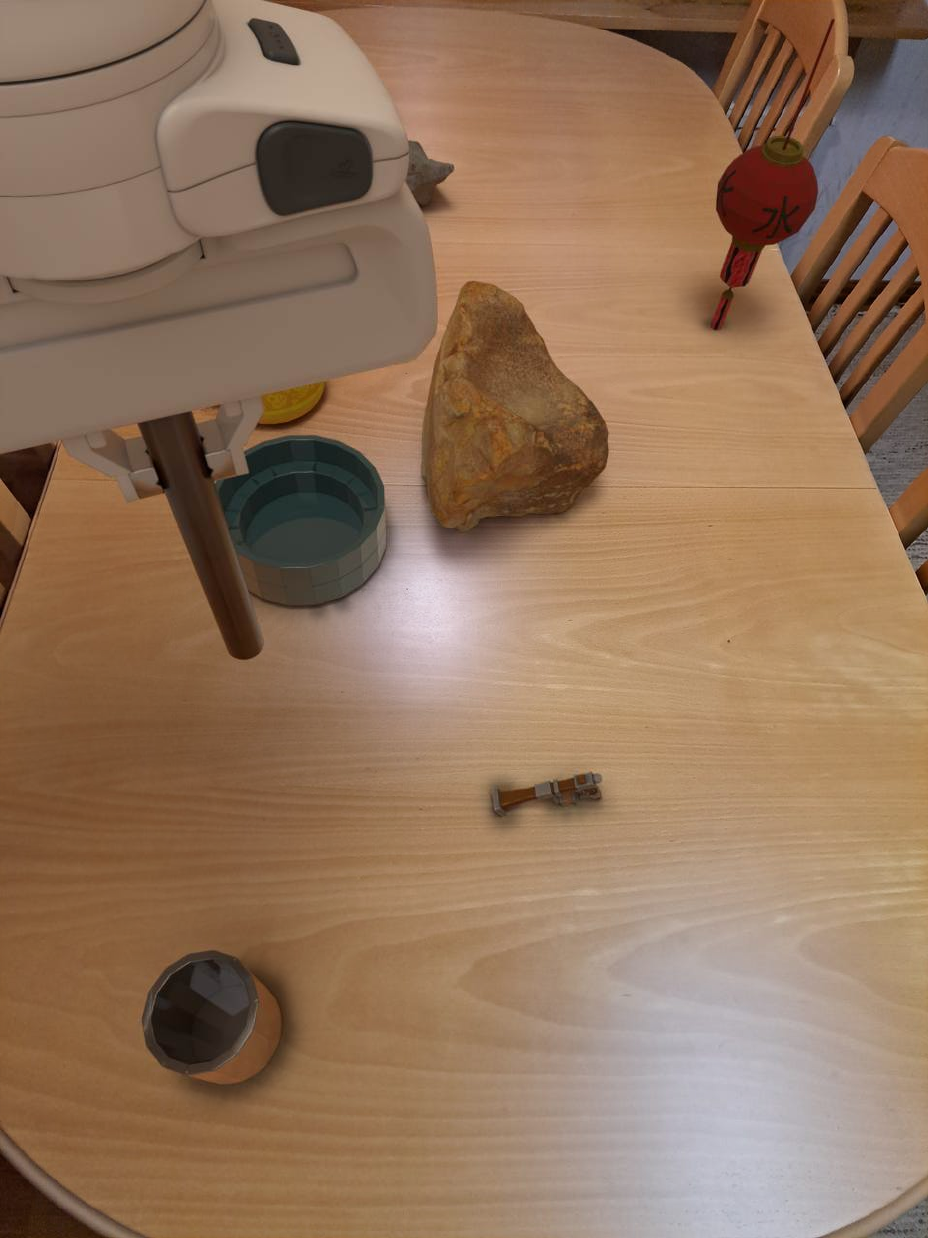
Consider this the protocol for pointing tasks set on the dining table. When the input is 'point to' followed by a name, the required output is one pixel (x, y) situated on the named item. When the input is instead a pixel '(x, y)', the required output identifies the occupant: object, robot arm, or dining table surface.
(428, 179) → the fossil
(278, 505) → the bowl
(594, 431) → the orange rock
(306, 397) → the mug
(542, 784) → the wooden lamp post
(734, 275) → the lantern
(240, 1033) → the holder
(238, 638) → the stick
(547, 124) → the dining table surface
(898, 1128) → the dining table surface
